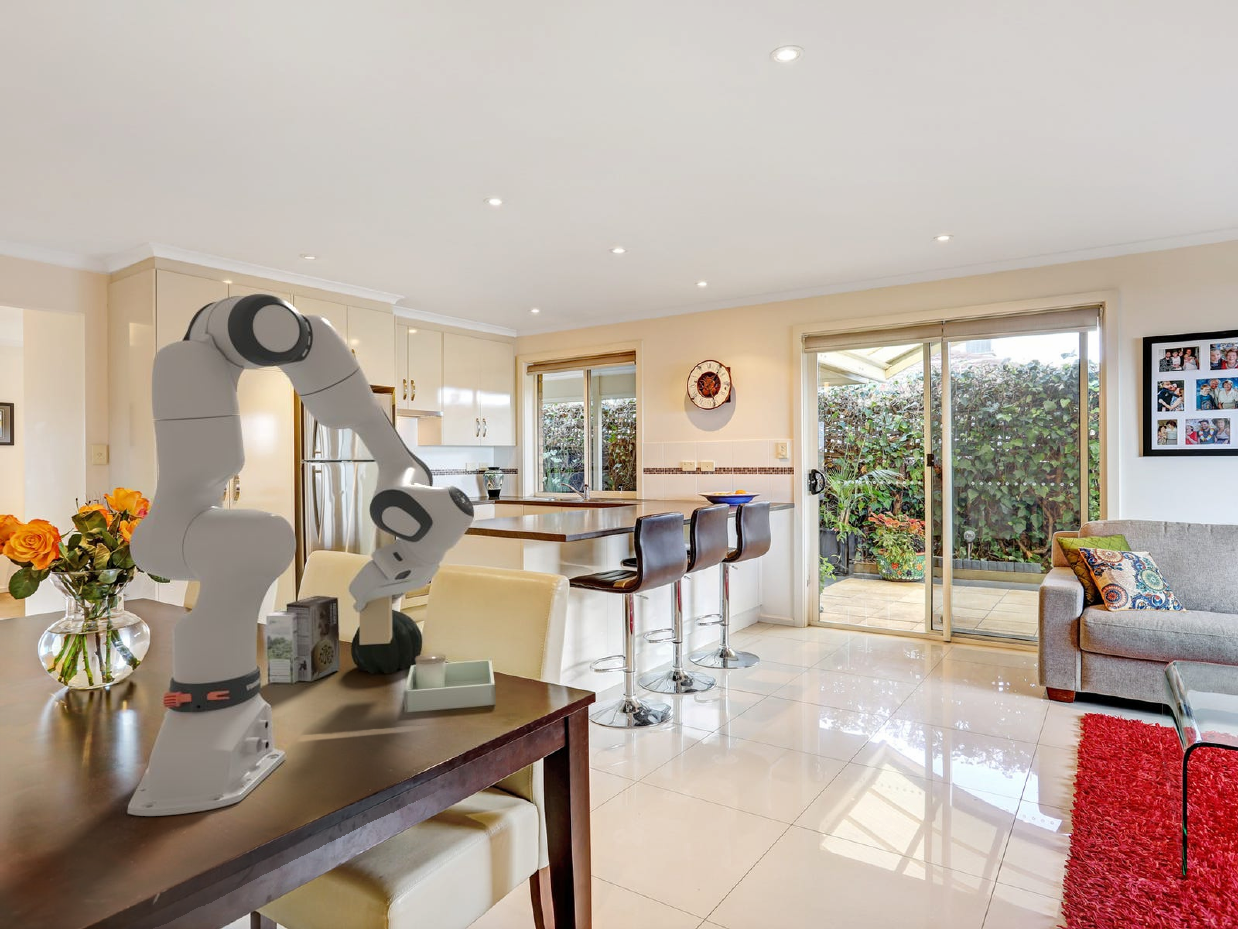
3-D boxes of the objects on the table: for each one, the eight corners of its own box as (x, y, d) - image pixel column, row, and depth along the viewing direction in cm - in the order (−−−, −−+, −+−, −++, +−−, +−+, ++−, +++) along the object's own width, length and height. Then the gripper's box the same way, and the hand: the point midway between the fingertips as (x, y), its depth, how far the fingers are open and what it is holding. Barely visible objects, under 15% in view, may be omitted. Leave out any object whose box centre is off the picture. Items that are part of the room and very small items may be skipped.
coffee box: (316, 667, 161) (315, 595, 160) (340, 669, 159) (339, 596, 159) (286, 679, 152) (285, 603, 152) (311, 682, 150) (310, 604, 150)
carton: (389, 643, 140) (389, 575, 140) (359, 644, 139) (359, 576, 139) (392, 637, 145) (392, 572, 146) (363, 638, 144) (363, 573, 144)
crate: (495, 709, 132) (494, 684, 132) (404, 716, 129) (404, 691, 129) (491, 681, 149) (491, 659, 149) (411, 687, 146) (411, 665, 146)
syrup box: (307, 676, 155) (306, 608, 155) (293, 684, 149) (292, 614, 149) (281, 676, 155) (280, 608, 155) (266, 684, 149) (265, 614, 149)
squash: (444, 643, 159) (411, 589, 164) (389, 663, 146) (355, 603, 151) (413, 678, 165) (383, 625, 170) (358, 700, 153) (326, 641, 158)
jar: (445, 691, 141) (445, 659, 141) (414, 693, 140) (414, 662, 139) (446, 682, 146) (445, 652, 146) (416, 684, 145) (416, 654, 145)
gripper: (437, 541, 149) (399, 586, 153) (368, 550, 130) (326, 601, 134) (455, 563, 148) (416, 608, 151) (388, 576, 129) (345, 627, 132)
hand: (373, 605), depth 142 cm, fingers closed on carton, 8 cm apart
